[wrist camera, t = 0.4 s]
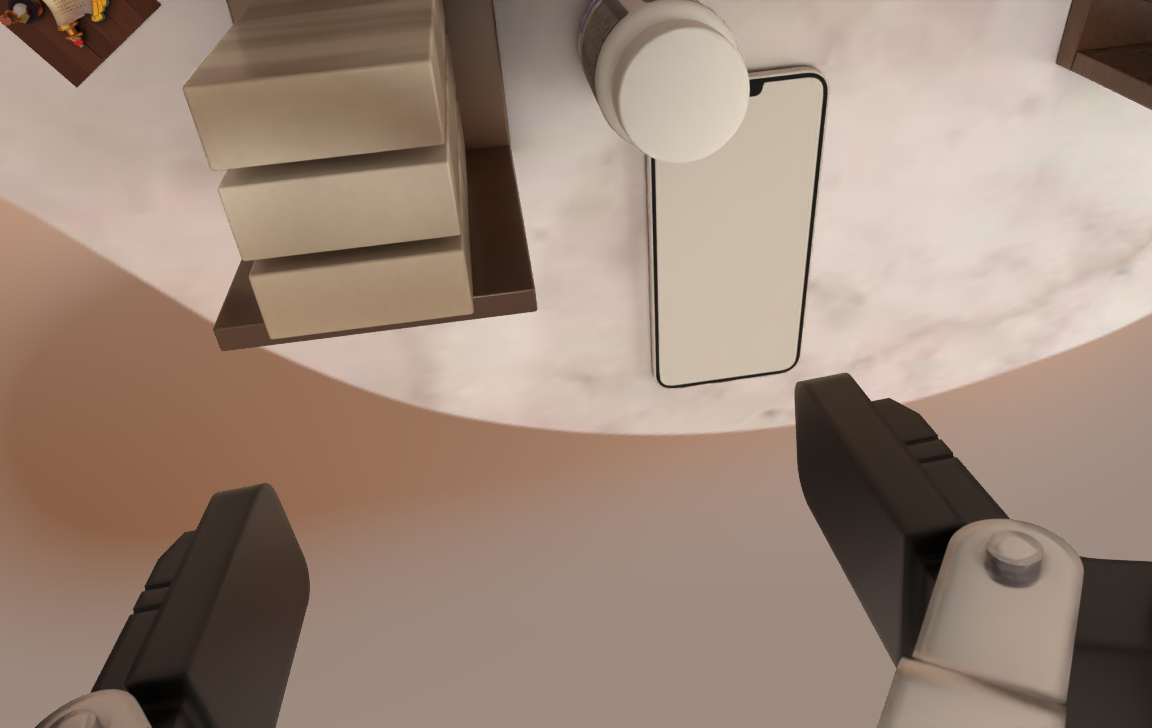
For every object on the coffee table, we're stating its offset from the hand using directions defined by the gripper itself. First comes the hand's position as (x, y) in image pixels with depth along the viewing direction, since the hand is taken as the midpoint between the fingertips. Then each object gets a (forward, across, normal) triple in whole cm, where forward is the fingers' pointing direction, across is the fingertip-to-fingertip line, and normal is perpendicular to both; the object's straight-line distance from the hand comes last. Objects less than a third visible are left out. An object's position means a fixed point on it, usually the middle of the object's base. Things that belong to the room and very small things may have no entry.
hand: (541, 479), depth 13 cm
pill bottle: (+23, -6, -2) cm, 24 cm away
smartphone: (+24, -9, +7) cm, 27 cm away
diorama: (+22, +14, -8) cm, 27 cm away
